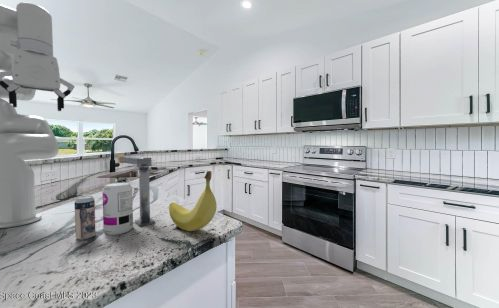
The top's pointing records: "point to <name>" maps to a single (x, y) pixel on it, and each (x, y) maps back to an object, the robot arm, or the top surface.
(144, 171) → the post
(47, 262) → the top surface
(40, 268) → the top surface
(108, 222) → the supplement can
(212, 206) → the banana
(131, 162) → the swing arm
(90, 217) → the beer can
